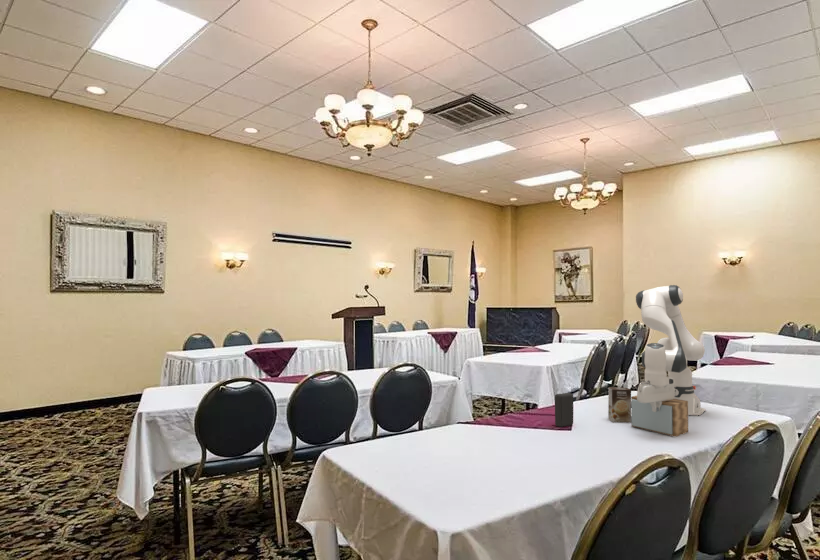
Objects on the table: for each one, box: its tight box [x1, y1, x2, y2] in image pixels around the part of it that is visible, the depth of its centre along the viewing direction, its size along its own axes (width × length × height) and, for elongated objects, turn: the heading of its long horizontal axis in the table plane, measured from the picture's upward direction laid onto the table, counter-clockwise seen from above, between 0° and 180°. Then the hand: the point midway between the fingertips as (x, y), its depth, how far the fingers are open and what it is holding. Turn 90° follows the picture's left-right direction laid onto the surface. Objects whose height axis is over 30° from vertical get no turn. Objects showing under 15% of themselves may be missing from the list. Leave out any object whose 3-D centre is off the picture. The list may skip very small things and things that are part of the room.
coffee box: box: [607, 386, 632, 424], centre depth 241 cm, size 9×6×16 cm
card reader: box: [554, 392, 574, 428], centre depth 233 cm, size 9×4×15 cm, turn 119°
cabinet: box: [631, 395, 689, 438], centre depth 227 cm, size 12×20×14 cm, turn 36°
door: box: [630, 399, 673, 434], centre depth 223 cm, size 1×19×12 cm, turn 36°
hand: (655, 411), depth 218 cm, fingers closed
